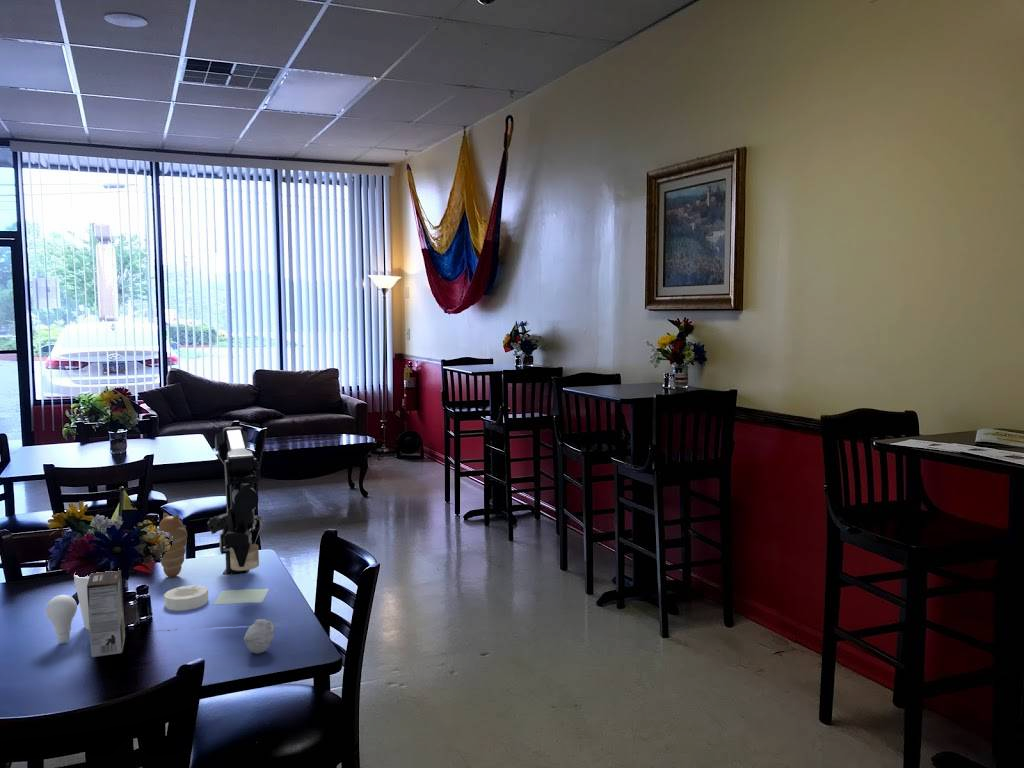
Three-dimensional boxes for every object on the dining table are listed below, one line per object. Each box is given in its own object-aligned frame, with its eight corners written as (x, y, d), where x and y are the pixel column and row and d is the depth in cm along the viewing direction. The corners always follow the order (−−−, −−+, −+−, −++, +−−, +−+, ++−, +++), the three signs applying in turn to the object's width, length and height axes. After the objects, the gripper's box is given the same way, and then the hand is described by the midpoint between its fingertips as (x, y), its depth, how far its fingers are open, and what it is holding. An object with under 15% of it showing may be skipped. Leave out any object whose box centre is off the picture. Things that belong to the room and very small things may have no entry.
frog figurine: (281, 648, 178) (280, 617, 177) (259, 660, 171) (258, 629, 171) (260, 643, 180) (258, 613, 180) (237, 656, 174) (236, 624, 173)
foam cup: (108, 632, 187) (105, 578, 186) (69, 632, 187) (65, 578, 186) (128, 617, 196) (125, 565, 195) (91, 617, 197) (88, 565, 195)
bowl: (172, 598, 209) (171, 586, 209) (212, 596, 210) (211, 584, 210) (160, 612, 199) (159, 600, 199) (202, 610, 200) (201, 598, 200)
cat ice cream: (195, 574, 228) (192, 512, 226) (173, 583, 221) (170, 518, 219) (172, 570, 232) (169, 509, 230) (149, 578, 224) (146, 515, 223)
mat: (222, 592, 213) (222, 590, 213) (269, 589, 215) (269, 588, 215) (213, 605, 204) (213, 604, 203) (262, 603, 205) (262, 602, 205)
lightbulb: (83, 642, 182) (80, 595, 181) (53, 651, 177) (50, 602, 176) (73, 635, 186) (70, 588, 185) (44, 643, 181) (41, 595, 180)
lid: (233, 562, 211) (233, 544, 211) (261, 561, 212) (260, 542, 212) (227, 571, 204) (227, 551, 204) (256, 569, 205) (255, 550, 205)
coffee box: (94, 642, 182) (90, 572, 180) (125, 637, 184) (122, 568, 183) (89, 658, 173) (85, 585, 172) (122, 653, 176) (118, 581, 174)
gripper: (218, 495, 215) (221, 552, 216) (200, 513, 197) (202, 575, 198) (261, 494, 216) (263, 551, 218) (247, 511, 198) (249, 573, 199)
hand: (244, 562), depth 208 cm, fingers closed on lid, 7 cm apart
